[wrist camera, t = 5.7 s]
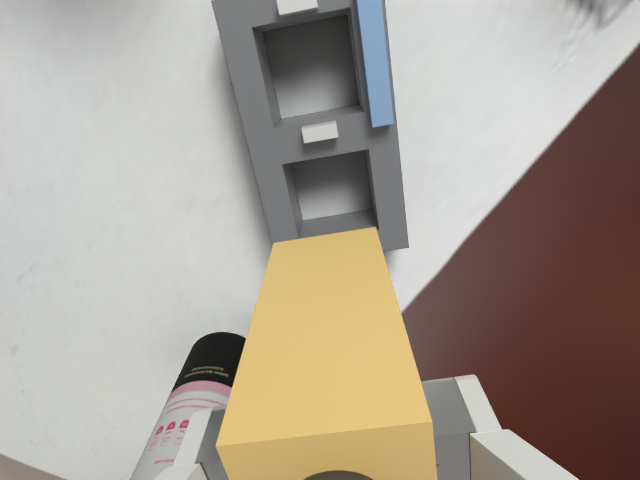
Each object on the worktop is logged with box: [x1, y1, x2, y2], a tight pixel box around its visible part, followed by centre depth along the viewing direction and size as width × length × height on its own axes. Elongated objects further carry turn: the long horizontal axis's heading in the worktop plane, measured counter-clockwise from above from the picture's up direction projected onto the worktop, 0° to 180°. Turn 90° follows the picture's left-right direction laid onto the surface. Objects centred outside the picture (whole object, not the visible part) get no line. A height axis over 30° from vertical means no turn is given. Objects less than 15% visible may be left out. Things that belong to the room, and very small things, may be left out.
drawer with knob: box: [216, 227, 437, 480], centre depth 12 cm, size 4×4×10 cm
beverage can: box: [130, 332, 246, 480], centre depth 29 cm, size 7×7×15 cm
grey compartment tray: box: [211, 0, 409, 251], centre depth 25 cm, size 9×16×5 cm, turn 10°
